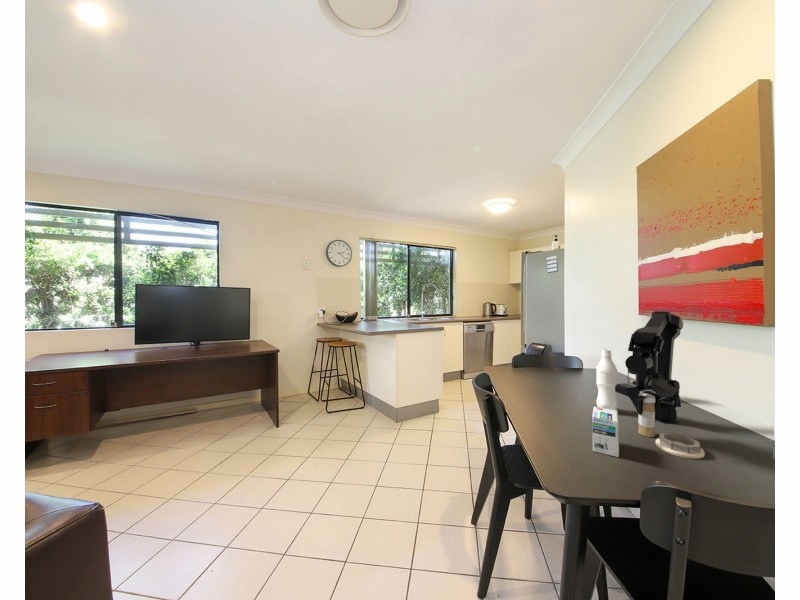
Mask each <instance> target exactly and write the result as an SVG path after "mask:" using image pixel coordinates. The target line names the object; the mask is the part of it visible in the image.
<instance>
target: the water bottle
mask: <svg viewBox="0 0 800 600" xmlns="http://www.w3.org/2000/svg"><path fill="white" fill-rule="evenodd" d="M612 356H613V355H612V350H611V349H607V348H604V349H603V348H602V349H601V358H600V360H599V362H598V364H597V365H596V366H595V367H596V369H595V370H596V383H595V384H596V386H597V387H596V388H597V391H598V392H597V393H598V394H597V398H596V401H595V403H596V407H600V408H605V409H611V410H617V409H618V405H619V404H618V402H617V397H616V395H617V392H615V385H616V384H618V369H617V366H616V364H615V362H614V361H613V359H612ZM617 411H618V410H617Z"/></svg>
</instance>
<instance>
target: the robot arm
mask: <svg viewBox="0 0 800 600" xmlns="http://www.w3.org/2000/svg"><path fill="white" fill-rule="evenodd" d="M683 327H684V321H683V319H682V318H681V316H678V315H675V314H672V311H671V312H670V311H667V310H664V311H663V310H655V311H652V313H651V317H650V318H649V320H648V321H647V322H646V324H645V325H644V327H639V328H637V329H636V330H635V331H634V332H633V333H632V334H631V336H630V340H629V344H628V347H627V351H628V352H632V355H630V356H628V357H627V358H626V359H625V362H624V363H625V367H626V368H627V370H628V369H629V370H630V371H631V372H633V373H636V375H635V380H636V381H633V384H634V385H633V384H630V383H629V384H628V382H627V383H624V382H623V383H617V384H616V385H615V392H616V393H618V394H621V395H623V396H626V397H628V398H629V399H630V401H631V402H632V404H633V406H634V408H635V410H636V412H637V415H638V414H640V415H642V412H643V400H644V399H645V398H646V397H645V396H643V392H647V394H650V395H653V396H654V397H655V421H659V422H661V423H664V424H669V423H680V422H681V421H680V420H679V419H677V417H678V416H677V415H678V414H677V409H676V408H681V407H682V400H681V396H680V388H681V386H680V382H679V381H678V380H676V379H672V375H673V374H672V373H673V360H674V349H675V347H674V346H675V340H676V339H677V338H678V337H679V336H680V335H681V330H683Z"/></svg>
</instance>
